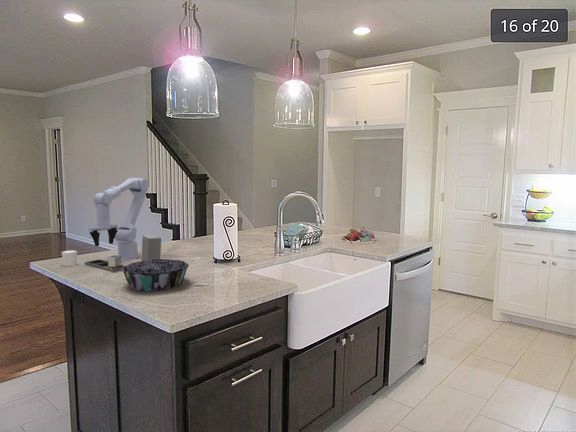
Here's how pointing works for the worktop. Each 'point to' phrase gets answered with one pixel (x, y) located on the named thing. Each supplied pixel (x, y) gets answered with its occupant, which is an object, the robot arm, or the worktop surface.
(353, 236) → the multicoloured flower wreath
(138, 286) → the decorative bowl
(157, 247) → the skincare box
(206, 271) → the worktop surface
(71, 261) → the white cup
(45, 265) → the worktop surface
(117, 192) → the robot arm
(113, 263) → the brushed steel square tube
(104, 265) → the silver divided tray
